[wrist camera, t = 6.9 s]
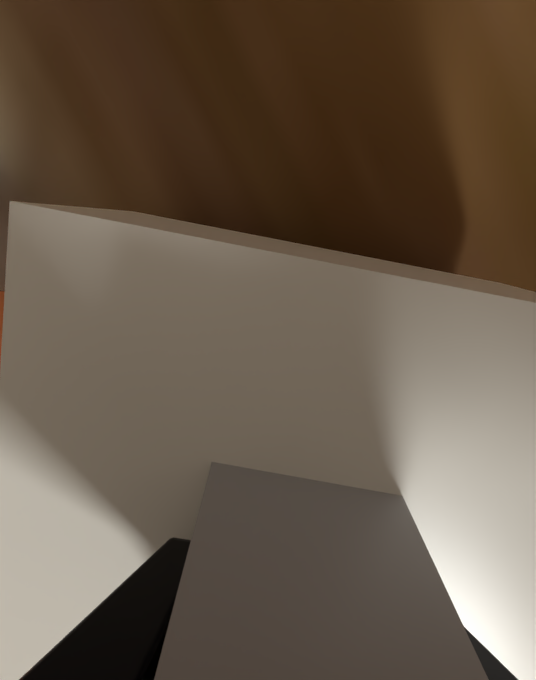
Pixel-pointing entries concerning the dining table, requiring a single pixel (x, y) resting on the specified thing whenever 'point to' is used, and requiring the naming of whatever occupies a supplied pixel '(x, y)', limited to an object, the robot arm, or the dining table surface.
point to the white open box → (265, 450)
